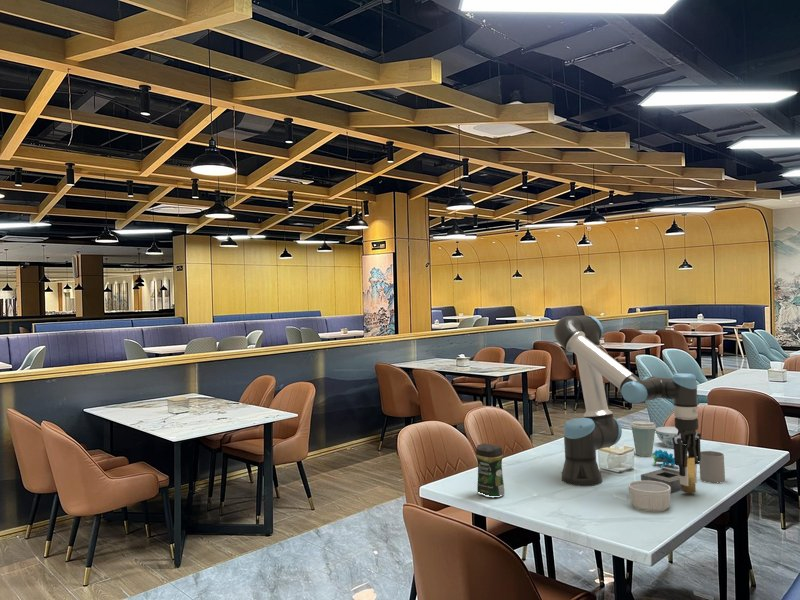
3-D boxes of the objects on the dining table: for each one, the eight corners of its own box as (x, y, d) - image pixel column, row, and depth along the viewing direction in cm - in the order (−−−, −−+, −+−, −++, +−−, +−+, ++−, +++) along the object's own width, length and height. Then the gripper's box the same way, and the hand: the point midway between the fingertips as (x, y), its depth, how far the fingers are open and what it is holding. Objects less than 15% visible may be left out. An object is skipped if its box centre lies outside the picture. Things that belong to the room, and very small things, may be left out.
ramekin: (622, 507, 195) (621, 486, 195) (639, 497, 204) (638, 477, 205) (662, 516, 186) (661, 494, 186) (678, 505, 195) (677, 484, 195)
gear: (685, 463, 238) (670, 448, 236) (679, 476, 236) (665, 460, 233) (662, 462, 248) (648, 447, 246) (657, 473, 245) (642, 459, 243)
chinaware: (665, 441, 285) (664, 425, 285) (696, 445, 274) (695, 429, 274) (650, 446, 276) (649, 430, 276) (682, 451, 264) (681, 434, 264)
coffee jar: (473, 495, 214) (471, 444, 215) (487, 490, 220) (485, 440, 220) (494, 500, 207) (492, 448, 208) (508, 495, 213) (505, 444, 213)
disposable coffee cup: (628, 452, 266) (626, 419, 267) (652, 451, 266) (650, 419, 266) (636, 458, 256) (635, 424, 256) (661, 457, 255) (660, 423, 256)
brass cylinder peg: (690, 493, 202) (689, 459, 202) (679, 490, 206) (678, 456, 206) (698, 491, 205) (697, 457, 205) (686, 488, 208) (685, 454, 209)
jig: (670, 493, 207) (669, 480, 207) (641, 485, 217) (640, 473, 218) (693, 485, 214) (693, 473, 214) (664, 478, 225) (663, 466, 225)
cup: (711, 484, 215) (710, 457, 216) (695, 478, 223) (693, 452, 224) (730, 481, 218) (728, 454, 218) (713, 475, 226) (711, 450, 226)
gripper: (681, 422, 198) (683, 490, 198) (710, 416, 207) (713, 481, 207) (661, 419, 204) (663, 485, 204) (690, 413, 213) (693, 476, 213)
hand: (688, 483), depth 205 cm, fingers closed on brass cylinder peg, 4 cm apart
